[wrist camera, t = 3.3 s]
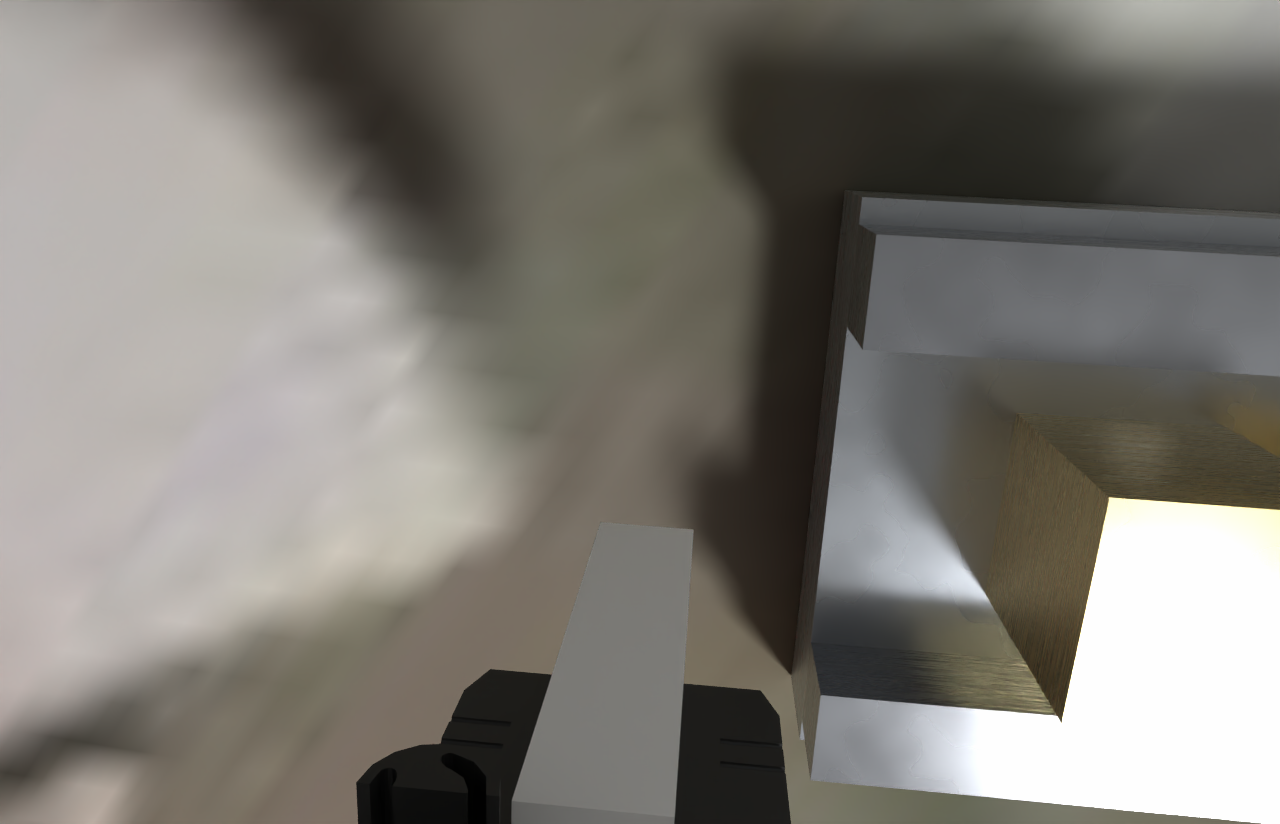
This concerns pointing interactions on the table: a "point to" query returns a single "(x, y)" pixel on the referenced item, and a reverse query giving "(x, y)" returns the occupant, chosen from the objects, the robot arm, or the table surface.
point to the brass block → (1143, 574)
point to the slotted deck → (975, 474)
